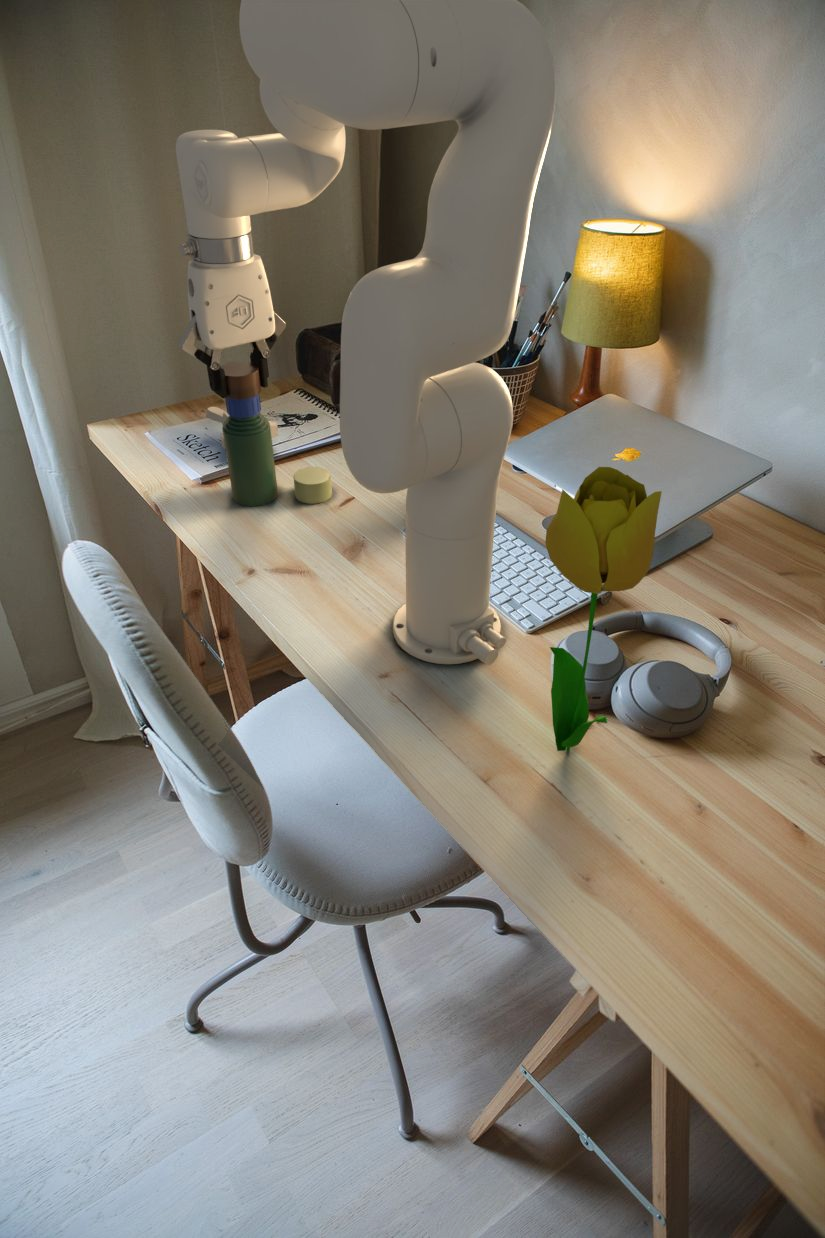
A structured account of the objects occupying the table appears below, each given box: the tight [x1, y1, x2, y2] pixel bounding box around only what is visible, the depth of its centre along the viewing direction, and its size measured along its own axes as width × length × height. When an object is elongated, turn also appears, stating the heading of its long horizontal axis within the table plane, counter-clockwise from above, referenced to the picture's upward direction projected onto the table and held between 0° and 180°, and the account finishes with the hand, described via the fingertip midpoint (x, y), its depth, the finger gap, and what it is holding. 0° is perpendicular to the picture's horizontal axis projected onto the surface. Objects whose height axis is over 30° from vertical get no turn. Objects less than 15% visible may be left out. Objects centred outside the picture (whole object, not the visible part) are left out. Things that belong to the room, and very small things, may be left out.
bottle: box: [221, 412, 279, 507], centre depth 117 cm, size 7×7×15 cm
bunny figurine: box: [205, 406, 279, 450], centre depth 135 cm, size 10×5×15 cm
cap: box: [224, 393, 262, 418], centre depth 113 cm, size 5×5×3 cm
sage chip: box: [293, 466, 333, 505], centre depth 121 cm, size 5×5×3 cm
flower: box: [544, 466, 662, 753], centre depth 73 cm, size 9×8×30 cm
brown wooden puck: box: [220, 360, 262, 399], centre depth 111 cm, size 5×5×3 cm
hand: (240, 388), depth 112 cm, fingers closed on brown wooden puck, 5 cm apart
